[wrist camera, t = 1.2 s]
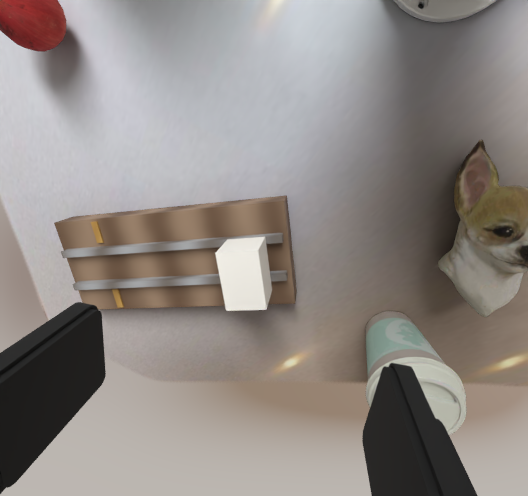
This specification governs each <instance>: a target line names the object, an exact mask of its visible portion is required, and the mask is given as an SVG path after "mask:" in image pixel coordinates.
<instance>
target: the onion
mask: <svg viewBox="0 0 528 496" xmlns="http://www.w3.org/2000/svg"><path fill="white" fill-rule="evenodd" d="M0 30H1V31H2V32H3V33H4V34H5V35H6V36H8V37H9V38H10V39H11V40H12V41H14V42H15V43H16V44H18V45H20V46H22V47H24V48H27V49H31V50H35V51H43V52H44V51H47V50H50V49H53V48H55V47H56V46H57V45H58V44H59V43H60V42H61V41H62V40H63V38H64V36H65V33H66V19H65V15H64V11H63V9H62V7H61V5H60V4H59V2H58V0H0Z"/></svg>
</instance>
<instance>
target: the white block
mask: <svg viewBox="0 0 528 496" xmlns="http://www.w3.org/2000/svg"><path fill="white" fill-rule="evenodd" d="M215 255H216V260H217V265H218V270H219V276H220V281H221V286H222V292H223V297H224V302H225V307H226V311H239V310H267V306H268V303H269V300H270V296H271V293H272V284H271V277H270V269H269V262H268V254H267V246H266V239H265V237H254V238H241V239H227V240H226V241H225V243H224V244H223V245H222V246H221V247H220V248H219V249H218V251H217V252H216V253H215Z"/></svg>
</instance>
